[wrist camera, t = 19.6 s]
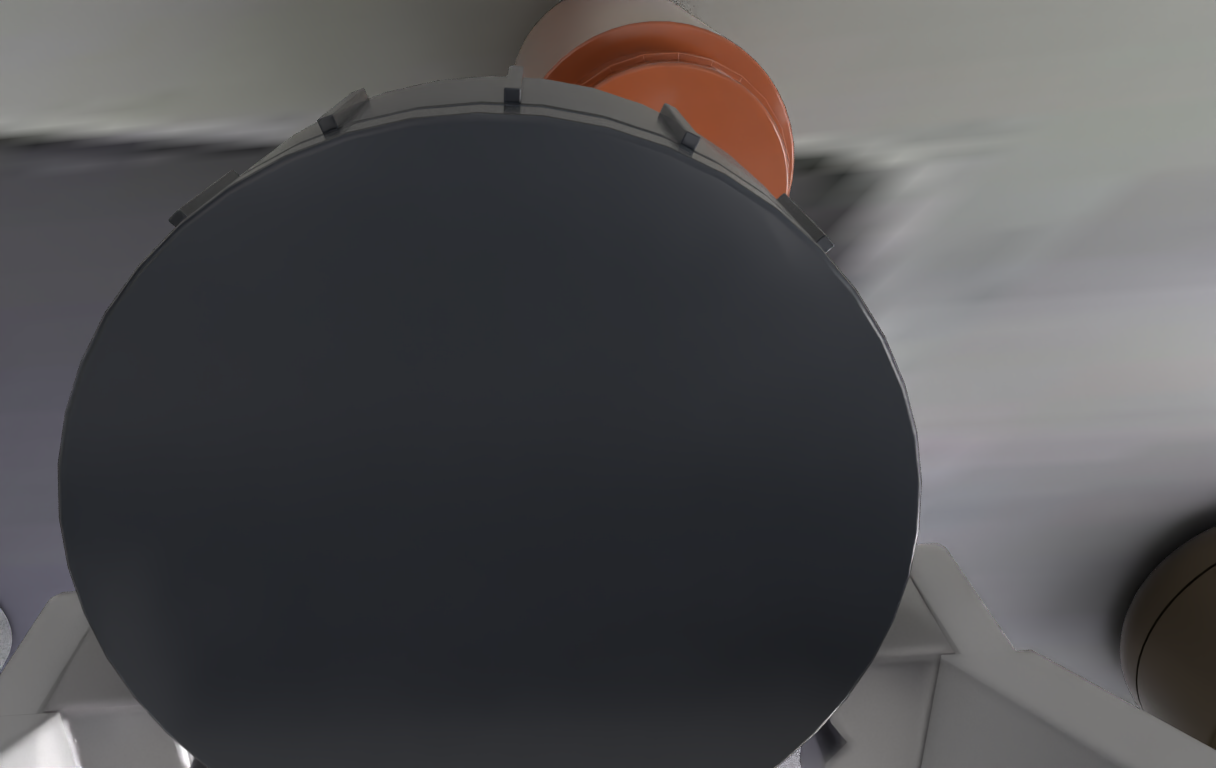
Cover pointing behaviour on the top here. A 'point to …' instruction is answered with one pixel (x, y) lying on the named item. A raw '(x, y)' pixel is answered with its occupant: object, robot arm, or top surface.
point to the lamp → (1176, 640)
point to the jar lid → (490, 449)
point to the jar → (669, 75)
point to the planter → (4, 638)
